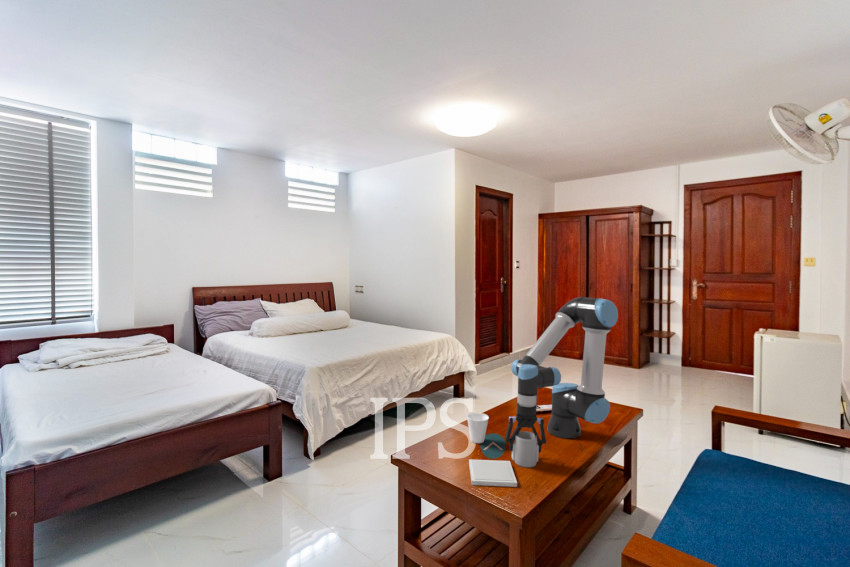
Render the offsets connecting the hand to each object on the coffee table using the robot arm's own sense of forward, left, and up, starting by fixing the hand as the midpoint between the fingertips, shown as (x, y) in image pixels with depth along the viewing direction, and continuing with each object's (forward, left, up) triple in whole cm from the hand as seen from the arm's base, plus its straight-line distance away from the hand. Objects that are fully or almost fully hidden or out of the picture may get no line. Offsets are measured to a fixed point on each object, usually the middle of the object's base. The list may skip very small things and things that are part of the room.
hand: (524, 459), depth 164 cm
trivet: (+15, +12, -1) cm, 19 cm away
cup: (+18, -17, -1) cm, 25 cm away
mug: (-1, 0, -1) cm, 1 cm away
